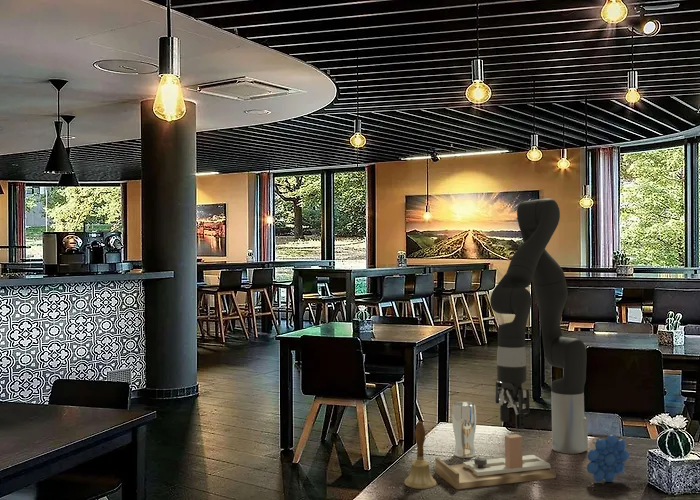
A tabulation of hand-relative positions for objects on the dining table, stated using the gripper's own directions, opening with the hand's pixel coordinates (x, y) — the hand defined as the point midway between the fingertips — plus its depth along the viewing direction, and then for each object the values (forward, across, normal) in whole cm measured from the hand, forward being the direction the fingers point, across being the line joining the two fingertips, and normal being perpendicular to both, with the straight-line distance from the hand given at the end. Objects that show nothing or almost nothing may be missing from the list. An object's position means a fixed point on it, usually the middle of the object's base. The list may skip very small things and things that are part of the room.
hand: (512, 425), depth 185 cm
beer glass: (+14, +22, +4) cm, 26 cm away
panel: (+12, +3, 0) cm, 12 cm away
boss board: (+14, +3, +4) cm, 15 cm away
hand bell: (+14, +3, +25) cm, 29 cm away
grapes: (+14, -10, -22) cm, 27 cm away
